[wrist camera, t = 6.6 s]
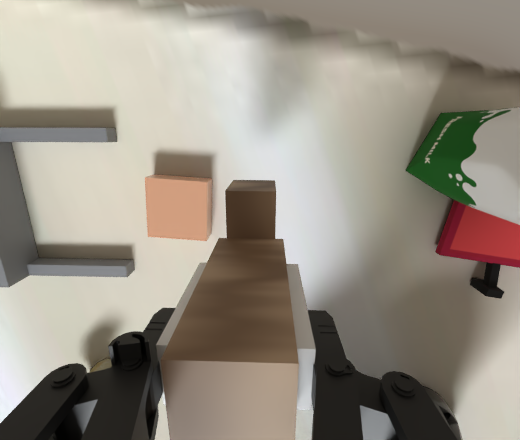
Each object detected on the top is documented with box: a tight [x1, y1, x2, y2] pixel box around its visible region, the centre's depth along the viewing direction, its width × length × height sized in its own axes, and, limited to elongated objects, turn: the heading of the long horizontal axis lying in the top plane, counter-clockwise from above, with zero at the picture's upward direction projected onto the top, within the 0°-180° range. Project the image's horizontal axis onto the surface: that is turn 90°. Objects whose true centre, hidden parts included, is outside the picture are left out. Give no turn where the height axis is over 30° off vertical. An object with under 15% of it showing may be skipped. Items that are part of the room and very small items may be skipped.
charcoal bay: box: [0, 128, 134, 287], centre depth 33 cm, size 14×18×5 cm
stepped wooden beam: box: [160, 180, 299, 440], centre depth 15 cm, size 4×10×14 cm, turn 0°
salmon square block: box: [145, 174, 212, 241], centre depth 34 cm, size 7×7×3 cm
